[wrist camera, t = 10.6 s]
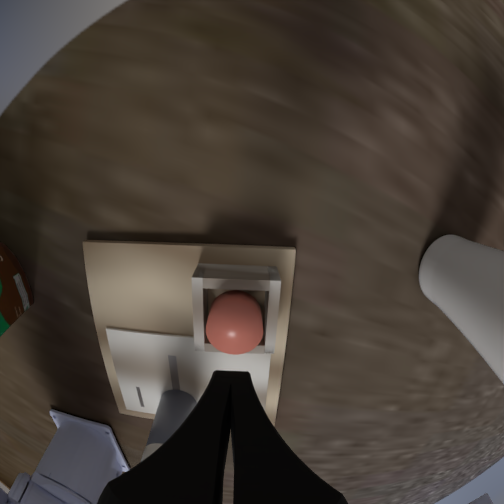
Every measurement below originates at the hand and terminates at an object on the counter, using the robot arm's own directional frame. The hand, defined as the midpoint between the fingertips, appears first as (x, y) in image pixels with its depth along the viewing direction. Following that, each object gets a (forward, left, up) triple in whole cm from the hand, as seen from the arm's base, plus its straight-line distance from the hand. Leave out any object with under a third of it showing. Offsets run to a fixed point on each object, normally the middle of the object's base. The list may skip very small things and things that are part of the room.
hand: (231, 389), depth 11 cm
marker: (-10, +5, -8) cm, 13 cm away
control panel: (-5, +4, -9) cm, 11 cm away
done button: (0, 0, -7) cm, 7 cm away
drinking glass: (+2, -15, -9) cm, 18 cm away
